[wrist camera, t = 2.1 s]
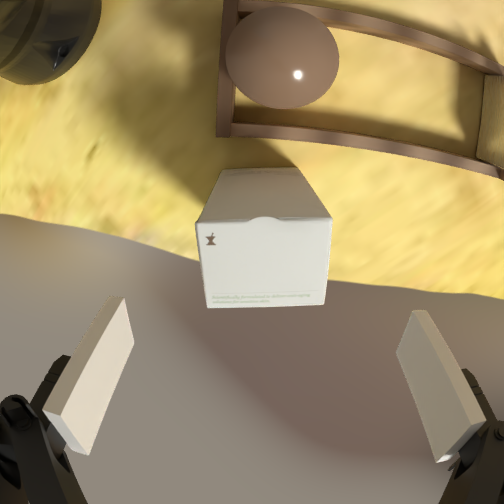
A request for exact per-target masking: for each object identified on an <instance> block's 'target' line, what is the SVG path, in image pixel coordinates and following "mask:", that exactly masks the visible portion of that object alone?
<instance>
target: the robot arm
mask: <svg viewBox="0 0 504 504" xmlns="http://www.w3.org/2000/svg"><path fill="white" fill-rule="evenodd" d="M100 15H101V0H0V76H1V77H3V78H5V79H7V80H9V81H12V82H14V83H16V84H21V85H35V84H43V83H47V82H50V81H52V80H54V79H56V78H58V77H60V76H61V75H63V74H64V73H65V72H67V71H68V70H69V69H70V68H71V67H72V66H73V65H74V64H75V63H76V62H77V61H78V60H79V59H80V57H81V56H82V55H83V53H84V52H85V51H86V49H87V48H88V46H89V44H90V42H91V41H92V39H93V36H94V34H95V32H96V29H97V27H98V23H99V20H100ZM133 345H134V339H133V335H132V331H131V327H130V322H129V318H128V313H127V309H126V304H125V299H124V298H123V297H114V296H109V297H108V299H107V300H106V302H105V303H104V305H103V306H102V308H101V310H100V311H99V313H98V314H97V316H96V317H95V319H94V320H93V322H92V324H91V325H90V327H89V329H88V330H87V332H86V333H85V335H84V337H83V338H82V340H81V341H80V343H79V345H78V346H77V348H76V350H75V351H74V353H73V355H72V357H71V356H66V355H62V356H61V357H60V358H58V359H57V360H56V361H55V362H54V363H53V365H52V366H51V368H50V370H49V371H48V374H47V375H46V376H45V378H44V381H43V382H42V383H41V385H40V386H39V388H38V390H37V392H36V393H35V395H34V397H33V399H32V401H31V403H30V404H29V403H28V401H27V400H26V399H25V398H24V397H23V396H21V395H17V394H16V395H10V396H8V397H6V398H5V399H4V400H3V401H2V402H1V404H0V504H29V503H30V504H88V503H87V501H86V499H85V497H84V495H83V493H82V491H81V488H80V486H79V484H78V482H77V479H76V477H75V475H74V472H73V470H72V468H71V465H70V463H69V460H68V458H67V455H66V453H65V451H64V447H65V445H66V443H67V445H68V446H69V447H70V448H71V450H73V451H76V452H79V453H82V454H85V455H89V454H90V451H91V448H92V445H93V443H94V440H95V437H96V435H97V432H98V430H99V427H100V424H101V422H102V419H103V417H104V414H105V412H106V409H107V406H108V404H109V402H110V399H111V397H112V394H113V391H114V389H115V387H116V384H117V382H118V380H119V377H120V375H121V373H122V370H123V368H124V366H125V363H126V361H127V359H128V356H129V354H130V352H131V349H132V347H133ZM396 355H397V357H398V360H399V362H400V365H401V367H402V370H403V372H404V375H405V377H406V380H407V382H408V385H409V387H410V390H411V392H412V395H413V398H414V401H415V403H416V406H417V409H418V411H419V414H420V417H421V419H422V422H423V425H424V428H425V431H426V434H427V437H428V440H429V443H430V446H431V449H432V452H433V455H434V458H435V461H436V463H437V462H442V461H445V460H449V459H451V458H452V457H453V456H454V455H455V454H456V453H457V452H459V454H460V458H459V459H458V460H457V461H456V462H455V463H453V464H452V465H451V467H450V468H449V469H448V471H450V470H452V469H453V468H454V470H453V472H452V475H451V477H450V479H449V482H448V484H447V487H446V489H445V491H444V493H443V495H442V498H441V500H440V502H439V504H504V421H497V419H496V417H495V415H494V413H493V412H492V409H491V407H490V405H489V403H488V401H487V399H486V397H485V395H484V394H483V392H482V390H481V388H480V387H479V384H478V382H477V380H476V379H475V377H474V375H472V373H470V372H469V371H468V370H467V369H460V368H459V365H458V364H457V362H456V360H455V358H454V356H453V355H452V353H451V351H450V349H449V347H448V346H447V344H446V342H445V341H444V339H443V337H442V335H441V334H440V332H439V330H438V329H437V327H436V326H435V324H434V322H433V321H432V319H431V317H430V316H429V314H428V313H427V311H426V310H412V313H411V316H410V319H409V321H408V324H407V326H406V329H405V331H404V334H403V336H402V339H401V341H400V344H399V346H398V349H397V351H396ZM28 501H29V503H28Z"/></svg>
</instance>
